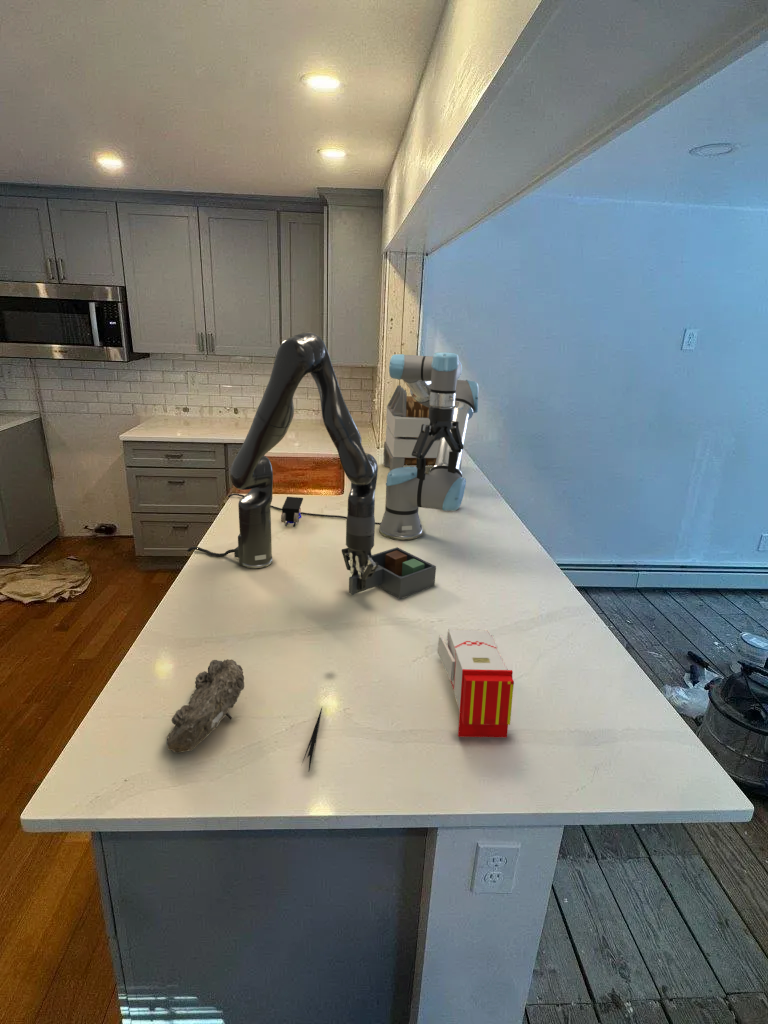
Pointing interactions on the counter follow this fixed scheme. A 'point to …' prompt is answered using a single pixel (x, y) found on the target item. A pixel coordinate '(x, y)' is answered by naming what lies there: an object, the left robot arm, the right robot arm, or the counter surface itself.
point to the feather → (313, 740)
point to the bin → (396, 577)
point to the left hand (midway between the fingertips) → (358, 587)
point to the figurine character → (291, 510)
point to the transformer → (405, 431)
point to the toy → (478, 682)
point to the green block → (411, 566)
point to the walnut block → (395, 562)
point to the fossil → (206, 705)
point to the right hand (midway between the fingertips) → (436, 475)
